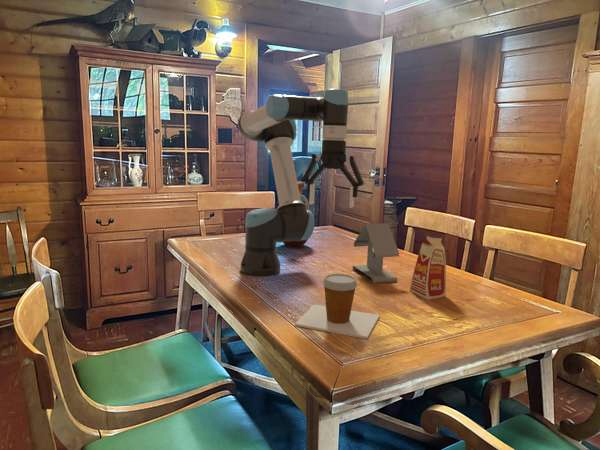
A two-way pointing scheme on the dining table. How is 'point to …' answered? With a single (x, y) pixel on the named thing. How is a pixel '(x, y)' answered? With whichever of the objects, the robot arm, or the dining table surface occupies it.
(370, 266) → the folded metal stand
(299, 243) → the jug
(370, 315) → the grey mat
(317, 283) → the dining table surface
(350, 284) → the disposable coffee cup
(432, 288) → the milk carton
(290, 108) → the robot arm
